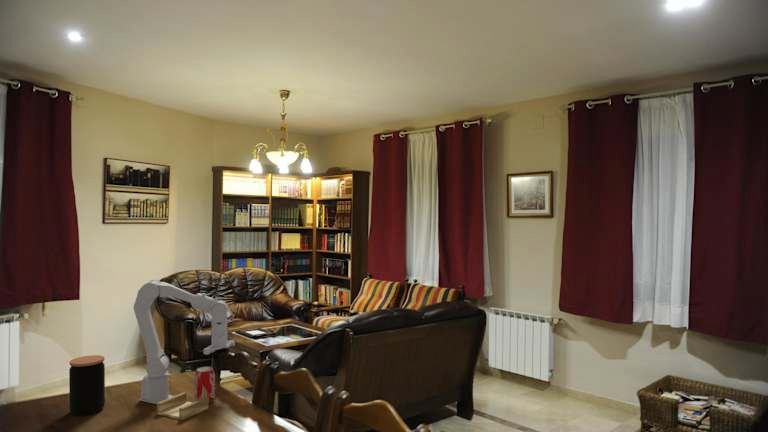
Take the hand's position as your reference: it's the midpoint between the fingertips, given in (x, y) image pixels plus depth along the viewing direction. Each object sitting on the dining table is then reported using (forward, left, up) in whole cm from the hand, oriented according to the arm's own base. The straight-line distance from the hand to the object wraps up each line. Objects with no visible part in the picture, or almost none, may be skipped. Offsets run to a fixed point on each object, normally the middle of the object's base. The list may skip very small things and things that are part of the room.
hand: (219, 368), depth 193 cm
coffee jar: (-31, -32, -10) cm, 45 cm away
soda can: (0, -8, -10) cm, 13 cm away
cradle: (0, -18, -10) cm, 20 cm away
